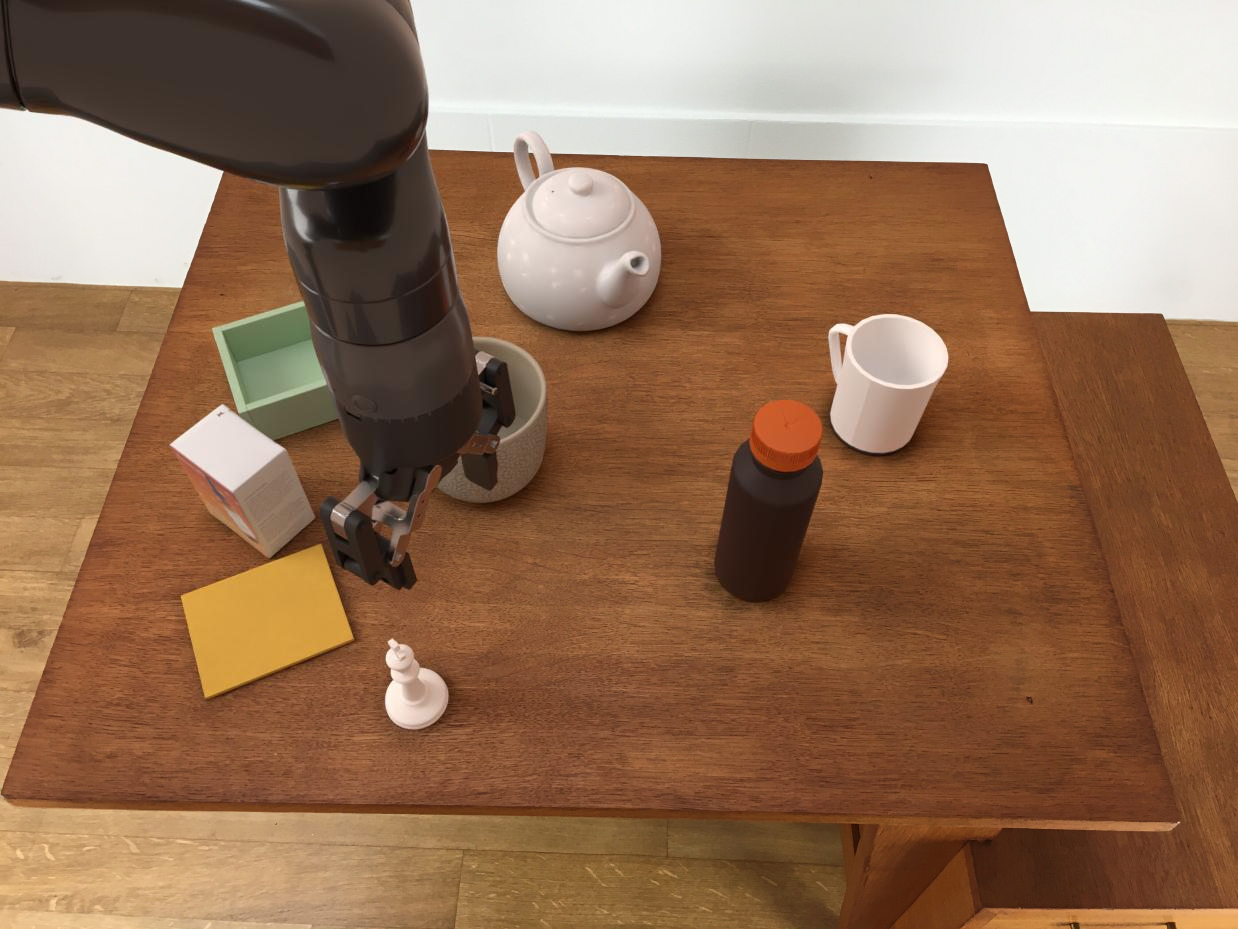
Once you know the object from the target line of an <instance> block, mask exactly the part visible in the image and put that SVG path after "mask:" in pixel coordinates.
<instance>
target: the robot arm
mask: <svg viewBox="0 0 1238 929" xmlns="http://www.w3.org/2000/svg"><path fill="white" fill-rule="evenodd" d="M411 2H412V1H411V0H0V109H3V110H9V111H10V110H11V111H17V112H27V111H28V112H29V113H34V114H42V115H51V116H61V117H70V118H75V119H80V120H83V121H86V122H89V123H91V124H93V125H96V126H98V127H101V128H104V129H106V130H109V131H111V132H114V133H115V134H119V135H120V136H123V137H125V138H128V139H131V140H132V141H135V142H137V143H140V144H143V145H146V146H148V147H152V148H154V149H157V150H161V151H164V152H167V153H170V154H173V155H176V156H178V157H181V158H184V159H188V160H190V161H192V162H196V163H199V164H201V165H204V166H207V167H210V168H213V169H216V170H217V171H221V172H223V173H227V174H229V175H233V176H236V177H239V178H242V179H245V180H248V181H251V182H256V183H259V184H263V185H266V186H272V187H276V188H278V193H279V194H278V196H279V210H280V222H281V223H280V224H281V230H282V236H283V241H284V245H285V246H284V247H285V250H286V253H287V257H288V261H289V264H290V266H291V270H292V273H293V276H294V278H295V281H296V285H297V287H298V291H299V293H300V296H301V299H302V301H303V302H304V305H305V307H306V310H307V313H308V317H309V323H310V330H311V337H312V342H313V345H314V349H315V352H316V356H317V359H318V361H319V364H320V367H321V370H322V372H323V375H324V378H325V381H326V384H327V387H328V390H329V392H330V395H331V398H332V401H333V404H334V407H335V409H336V412H337V415H338V421H339V423H340V427H341V429H342V431H343V434H344V436H345V439H346V441H347V442H348V444H349V446H350V447H351V448H352V450H353V452H354V453H355V455H356V456H357V457H358V460H359V471H358V485H357V486H356V487H355V488H354V489H353V490H352V491H351V492H350V493H349V494H348V495H347V496H346V497H345V498H344V499H343V500H341V499H339V498H337V497H335V496H333V495H330V496H328V497H327V498H325V499H324V500H323V501H322V503H321V505H320V506H319V510H318V512H319V517H320V520H321V522H322V525H323V529H324V532H325V534H326V537H327V541H328V543H329V546H330V549H331V552H332V556H333V559H334V562H335V565H336V566H337V567H339V568H341V569H342V570H345V571H347V572H349V573H351V574H353V575H354V576H356V577H357V578H359V579H361V580H363V582H365V583H366V584H368V585H370V586H375V585H377V584H378V583H379V582H380V581H381V582H383V583H385V584H386V585H388V586H390V587H391V588H393V589H395V590H397V591H401V590H402V589H406V590H408V591H411V589H412V588H414V586H415V584H417V582H418V577H417V574H416V572H415V569H414V564H413V562H412V559H411V555H410V552H408V551H407V550H408V547H409V543H410V540H411V538H412V533H413V532H415V531H418V530H420V529H421V528H422V526H423V524H424V520H425V516H426V513H427V509H428V506H429V503H430V499H431V496H432V494H433V493H434V492H435V490H436V489H437V486H438V484H439V483H440V481H441V480H442V479H443V478H444V477H445V476H446V475H447V474H449V473H450V472H451V471H452V470H453V468H454V467H455V466H456V465H457V464H458V458H459V456H460V455H461V460H462V465H463V470H464V474H465V477H466V478H467V479H468V480H469V481H471V482H473V483H475V484H477V485H478V486H480V487H482V488H484V489H486V490H488V491H491V490H492V489H493V488H494V487H495V485H496V484H497V483H498V478H497V471H498V461H497V454H496V449H497V448H498V446H499V443H500V437H499V436H497V434H498V432H499V430H500V429H501V427H502V426H504V427H506V428H508V427H510V426H511V424H512V423H513V421H514V419H515V416H516V412H515V406H514V401H513V395H512V390H511V384H510V379H509V373H508V368H507V363H506V362H504V361H502V360H499V359H497V358H495V357H493V356H491V355H489V354H487V353H485V352H483V351H480V350H478V349H476V348H474V345H473V339H472V337H473V334H472V327H471V321H470V316H469V310H468V307H467V305H466V301H465V298H464V296H463V293H462V290H461V286H460V283H459V280H458V272H457V267H456V260H455V255H454V249H453V248H454V247H453V242H452V236H451V232H450V228H449V227H450V226H449V222H448V218H447V215H446V214H447V213H446V211H445V207H444V204H443V200H442V197H441V194H440V190H439V188H438V183H437V181H436V177H435V174H434V171H433V166H432V162H431V157H430V150H429V145H428V135H427V124H428V118H429V108H430V107H429V106H430V94H429V85H428V80H427V73H426V68H425V64H424V60H423V55H422V52H421V47H420V41H419V36H418V31H417V26H416V21H415V16H414V12H413V7H412V3H411ZM392 502H399V503H400V502H401V503H408V505H407V509H406V510H404V509H403V508H401V507H399V506H397V505H396V504H394V503H392ZM384 525H385V526H386V527H388V528H389V529H391V531H392V535H391V539H390V538H388V537H386V536H384V535H382V534H381V533H382V529H383V526H384Z"/></svg>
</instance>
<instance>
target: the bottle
mask: <svg viewBox="0 0 1238 929" xmlns="http://www.w3.org/2000/svg"><path fill="white" fill-rule="evenodd" d="M823 435H824V425H823V422H822V420H821V418H820V416H819V415H818V413H816V411H814V409H812V408H811V407H809V406H808V405H807V404H805V403H802V402H799V401H798V400H797V401H796V400H792V399H776V400H773V401H770V402H767V403H766V404H764V405H762V406H761V407H760V408H759V409H758V410H757V411H756V413H755V415H754V417H753V419H752V425H751V429H750V437H749V438H748V439H747V440H745V441H744V442H741V444H740V445H739V446H738V448H737V449H736V451H735V453H734V454H733V457H732V462H731V467H730V473H729V478H728V484H727V489H726V494H725V500H724V506H723V510H722V517H721V521H720V527H719V534H718V539H717V544H716V549H715V555H714V560H713V565H714V572H715V575H716V577H717V580H718V581H719V583H720V585H721V586H722V587H723V588H724V590H726V591H727V592H728V593H729V594H732V595H733V596H735V597H737V598H738V599H740V600H745V601H748V602H765V601H768V600H771V599H773V598H776V597H777V596H778V595H780V594H781V593H782V592H783V591H785V590H786V589H787V588H788V586H789V584H790V582H791V581H792V578H793V575H794V572H795V569H796V566H797V562H798V559H799V557H800V553H801V550H802V548H803V544H804V541H805V537H806V534H807V531H808V528H809V525H810V522H811V519H812V516H813V513H814V510H815V508H816V503H817V500H818V498H819V494H820V491H821V488H822V483H823V477H824V469H823V464H822V460H821V458H820V457H819V455H818V452H819V449H820V446H821V442H822V439H823V437H824V436H823Z"/></svg>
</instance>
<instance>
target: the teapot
mask: <svg viewBox="0 0 1238 929" xmlns="http://www.w3.org/2000/svg"><path fill="white" fill-rule="evenodd" d="M529 149H530V150H531V152H532V154H533V156H534V159H535V161H536V165H537V170H538V178H536V175H535V173H534V170H533V168H532V163H531V160H530V153H529ZM513 158H514V163H515V167H516V171H517V174H518V177H519V180H520V183H521V185H522V188H523V191H524V192H523V193H522V194H521V195H520V196H519V197H518V199H517V200H516V201H515V202H514V203H513V204H512V206H511V208H510V209H509V211H508V212H507V214H506V215H505V218H504V220H503V221H502V222H503V223H502V224H501V228H500V232H499V235H498V241H497V250H496V256H497V267H498V273H499V277H500V280H501V283H502V285H503V288H504V289H505V292H506V294H507V296H508V297H509V299H510V301H511V302H512V303H513V304H514V305H515V306H516V308H518V310H520V311H521V312H522V313H523V314H525V315H526V316H527V317H528V318H530V319H532V320H534V321H536V322H538V323H540V324H542V325H545V326H547V327H551V328H554V329H557V330H562V331H563V330H564V331H571V332H588V331H589V332H591V331H597V330H603V329H607V328H609V327H613V326H616V325H618V324H620V323H622V322H624V321H626V320H628V319H629V318H631V317H632V316H634V315H635V314H636V313H637V312H638V311H639V310H641V308H642V307H643V306H644V305H645V304H646V303H647V302H648V301H649V299H651V296H652V295H653V293H654V291H655V288H656V286H657V283H658V280H659V276H660V273H661V265H662V245H661V244H662V243H661V240H660V238H661V237H660V235H659V231H658V228H657V225H656V223H655V220H654V218H653V216H652V214H651V213H650V211H649V209H648V208H647V206H646V205H645V204H644V202H642V200H641V199H640V198H639V197H638V196H637V195H636V194H635V193H634V192H633V191H631V189H630V188H629V187H628V186H627V185H626V184H625V183H624V182H623V181H621V180H620V179H619V178H618V177H616V176H615V175H613V174H611V173H608V172H605V171H603V170H601V169H600V170H599V169H595V168H590V167H579V166H577V167H576V166H575V167H565V168H559V169H556V170H555V167H554V166H555V165H554V163H553V159H552V155H551V153H550V149H549V148H548V146H547V144H546V143H545V141H544V139H543V138H542V136H540V134H539V133H538V132H536V131H534V130H526V131H523V132H522V131H521V133H518V134H517V136H515V139H514V142H513Z"/></svg>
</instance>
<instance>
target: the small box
mask: <svg viewBox="0 0 1238 929" xmlns="http://www.w3.org/2000/svg"><path fill="white" fill-rule="evenodd" d="M169 447H170V449H171V451H172V453H173V454H174V455H175V457H176V459H177V460H178V462H179V464H180V465H181V467H182V469H183V471H184V472H185V474H186V476H187V478H188V479H189V481H190V483H191V484H192V486H193V487H194V489H195V491H196V493H197V495H198V496H199V498H200V499H201V501H202V503H203V504H204V506H205V507H206V510H207V511H208V513H209V514H210V515H211V516H212V517H214V518H215V519H216V520H218V521H219V522H221V523H223V524H224V526H226V527H228V528H229V529H230V530H232V531H233V533H235V534H237V535H238V536H239V537H240V538H242V539H243V540H244V541H245V542H247V543H248V544H249V545H250V546H251V547H253V548H254V549H256V550H257V551H258V552H259V553H260V554H261V555H263V556H264V557H265V558H267V559H272V557H273V556H274V555H275V554H277V553H278V552H279V551H280V550H281V549H282V548H283V547H285V546H286V545H287V544H288V543H289V542H290V541H291V540H292V539H294V538H295V537H296V536H297V535H298V534H299V533H301V532H302V530H303V529H305V528H306V527H307V526H309V525H310V523H311V522H312V521H314V520H315V519H316V515H315V513H314V510H313V508H312V505H311V504H310V501H309V499H308V497H307V494H306V492H305V490H304V488H303V485H302V483H301V480H300V478H299V476H298V474H297V471H296V469H295V467H294V464H293V462H292V460H291V457H290V455H289V453H288V450H287V449H286V448H285V447H283V446H282V445H281V444H279V443H277V442H276V441H275V440H271V439H270V438H268V437H267V436H265V435H264V434H263V433H261V432H260V431H258V430H257V429H256V428H254V427H253V426H251V425H250V424H249V423H247V422H246V421H245V420H243V419H242V418H241V417H240V415H239V414H237V413H236V412H234V411H232V410H231V408H229V407H228V406H227V405H225V403H222V404H221V405H219V406H217V407H216V408H215V409H214V410H212V411H211V412H210V413H209V414H207V415H205V416H204V417H203V418H202V419H200V420H199V421H198V422H197V423H195V424H194V425H193V426H191V427H190V428H189V429H188V430H186V431H185V432H184V433H183V434H181V435H180V436H179V437H177V438H176V439H175V440H174V441H172V442H171V443H170V444H169Z"/></svg>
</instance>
